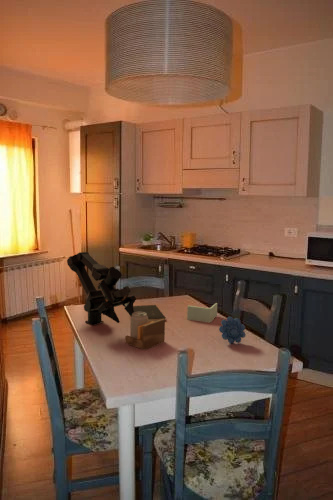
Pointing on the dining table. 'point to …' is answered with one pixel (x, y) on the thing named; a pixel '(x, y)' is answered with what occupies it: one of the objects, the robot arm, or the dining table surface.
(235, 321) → the grapes
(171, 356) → the dining table surface
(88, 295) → the robot arm
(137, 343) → the brown wooden crate
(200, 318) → the right angle wall
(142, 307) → the hardcover book
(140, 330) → the pusher
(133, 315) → the can
